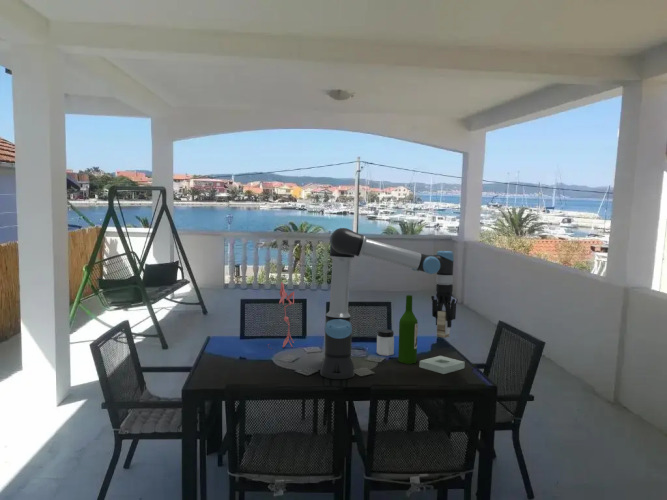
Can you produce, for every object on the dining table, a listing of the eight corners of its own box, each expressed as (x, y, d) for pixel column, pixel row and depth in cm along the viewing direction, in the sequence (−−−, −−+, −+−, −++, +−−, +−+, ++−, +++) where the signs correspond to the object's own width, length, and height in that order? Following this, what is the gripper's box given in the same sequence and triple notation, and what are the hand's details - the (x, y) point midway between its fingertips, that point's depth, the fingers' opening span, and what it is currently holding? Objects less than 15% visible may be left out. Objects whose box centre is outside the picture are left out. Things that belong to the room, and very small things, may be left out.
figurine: (296, 340, 280) (296, 279, 278) (293, 351, 254) (292, 284, 252) (269, 340, 280) (269, 279, 278) (263, 351, 254) (263, 284, 252)
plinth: (443, 374, 219) (443, 367, 219) (419, 367, 230) (419, 360, 230) (464, 368, 230) (464, 361, 229) (440, 361, 240) (440, 355, 240)
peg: (444, 338, 226) (444, 312, 226) (436, 336, 229) (437, 311, 229) (449, 336, 229) (450, 311, 228) (442, 335, 232) (442, 310, 232)
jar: (385, 356, 248) (386, 333, 247) (373, 353, 253) (374, 330, 253) (396, 353, 254) (397, 331, 253) (384, 350, 260) (385, 328, 259)
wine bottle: (416, 364, 234) (418, 297, 233) (397, 363, 236) (399, 296, 235) (416, 359, 243) (418, 294, 242) (398, 358, 245) (400, 294, 243)
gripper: (464, 285, 224) (463, 335, 225) (434, 281, 237) (433, 329, 238) (455, 286, 219) (453, 337, 220) (424, 282, 232) (423, 331, 233)
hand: (443, 333), depth 229 cm, fingers closed on peg, 4 cm apart
